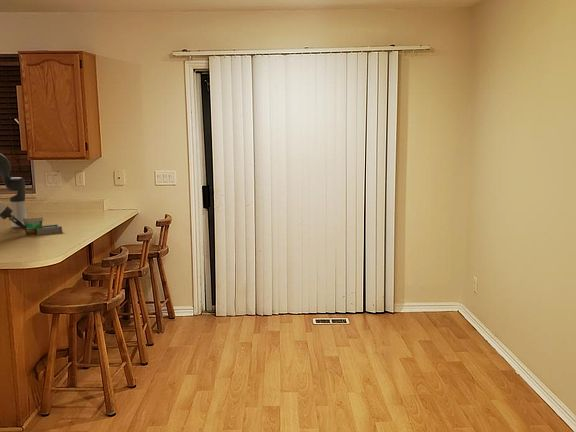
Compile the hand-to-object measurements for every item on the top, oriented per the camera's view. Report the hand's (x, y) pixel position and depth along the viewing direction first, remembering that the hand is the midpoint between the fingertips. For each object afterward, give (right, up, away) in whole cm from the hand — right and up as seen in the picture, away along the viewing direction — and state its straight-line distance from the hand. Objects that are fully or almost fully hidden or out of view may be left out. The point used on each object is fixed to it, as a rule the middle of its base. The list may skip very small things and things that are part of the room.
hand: (25, 228), depth 370 cm
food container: (+4, -4, +2) cm, 6 cm away
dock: (+11, -3, +7) cm, 14 cm away
